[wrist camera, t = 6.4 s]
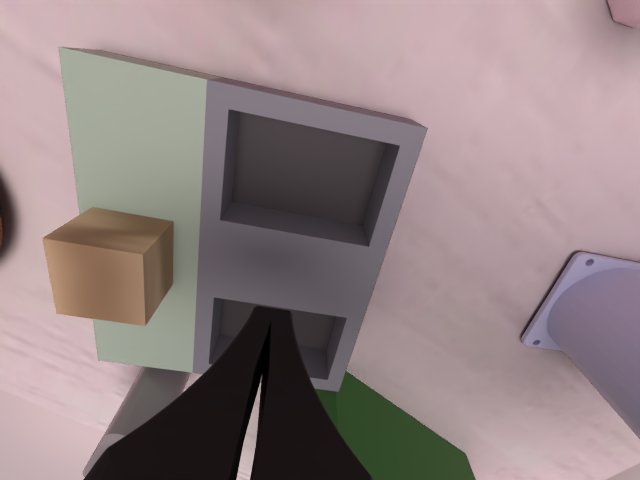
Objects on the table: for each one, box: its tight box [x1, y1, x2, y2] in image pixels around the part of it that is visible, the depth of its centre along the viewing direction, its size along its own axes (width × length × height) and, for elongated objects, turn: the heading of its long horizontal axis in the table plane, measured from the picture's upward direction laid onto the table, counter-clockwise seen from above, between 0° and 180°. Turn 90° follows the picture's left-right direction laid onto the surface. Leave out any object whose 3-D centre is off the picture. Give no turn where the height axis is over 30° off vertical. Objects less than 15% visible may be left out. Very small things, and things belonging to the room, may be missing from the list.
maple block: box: [42, 207, 174, 326], centre depth 17 cm, size 4×4×4 cm
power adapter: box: [83, 366, 191, 477], centre depth 21 cm, size 3×5×12 cm, turn 146°
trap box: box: [58, 47, 428, 392], centre depth 20 cm, size 16×18×3 cm
